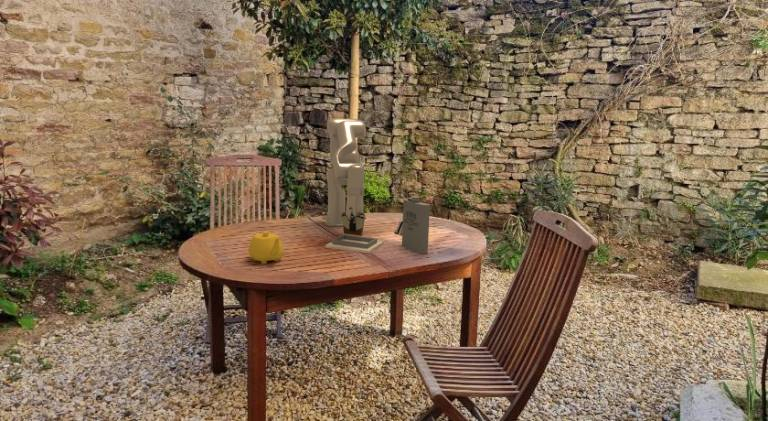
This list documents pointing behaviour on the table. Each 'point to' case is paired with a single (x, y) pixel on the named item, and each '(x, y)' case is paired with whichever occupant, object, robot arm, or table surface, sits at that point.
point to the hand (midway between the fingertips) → (355, 229)
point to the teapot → (265, 247)
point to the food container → (359, 224)
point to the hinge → (399, 228)
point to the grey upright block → (415, 225)
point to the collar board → (354, 243)
